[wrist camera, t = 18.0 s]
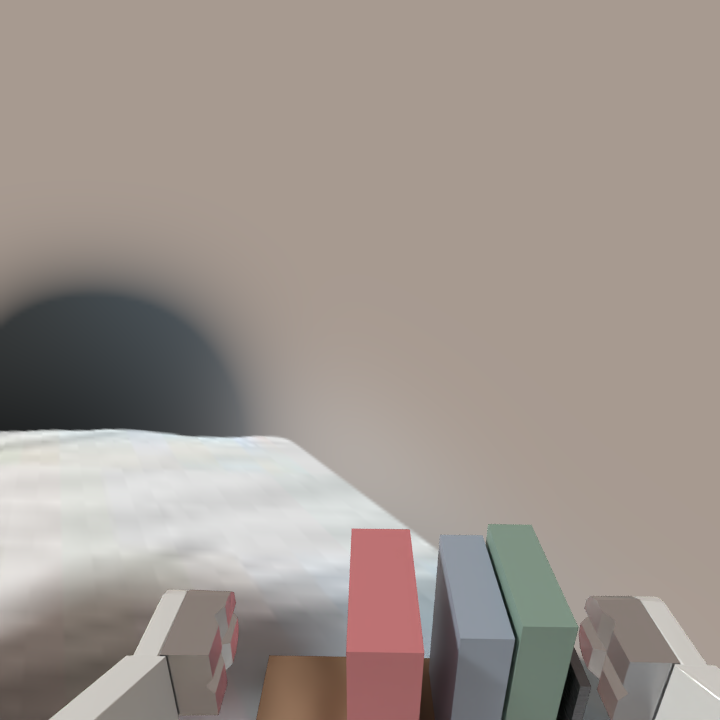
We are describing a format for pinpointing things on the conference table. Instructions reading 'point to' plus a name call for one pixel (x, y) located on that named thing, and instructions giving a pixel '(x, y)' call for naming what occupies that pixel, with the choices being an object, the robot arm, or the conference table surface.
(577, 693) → the bookend
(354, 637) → the tall pink pillar
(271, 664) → the board
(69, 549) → the conference table surface
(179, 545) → the conference table surface
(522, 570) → the shelved books
